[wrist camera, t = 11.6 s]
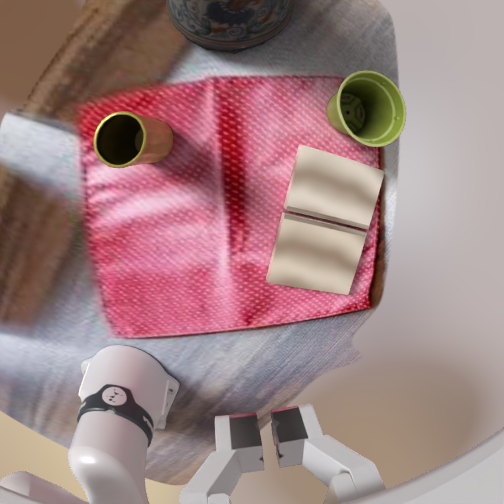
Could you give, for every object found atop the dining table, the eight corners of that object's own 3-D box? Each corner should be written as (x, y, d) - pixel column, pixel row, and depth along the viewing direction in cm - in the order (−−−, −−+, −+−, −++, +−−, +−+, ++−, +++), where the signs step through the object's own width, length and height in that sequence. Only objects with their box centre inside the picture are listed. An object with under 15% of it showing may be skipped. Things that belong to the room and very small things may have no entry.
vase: (176, 120, 37) (156, 107, 23) (170, 165, 39) (147, 175, 25) (132, 117, 36) (93, 106, 23) (127, 161, 38) (86, 171, 24)
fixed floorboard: (363, 226, 45) (368, 229, 43) (283, 207, 42) (286, 210, 41) (379, 170, 42) (384, 171, 40) (299, 144, 40) (302, 144, 38)
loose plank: (344, 290, 47) (348, 295, 46) (266, 278, 45) (268, 283, 43) (362, 230, 45) (367, 233, 43) (282, 211, 43) (285, 213, 41)
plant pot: (318, 147, 40) (342, 148, 32) (310, 82, 37) (332, 68, 29) (376, 143, 41) (409, 146, 33) (369, 82, 37) (400, 73, 29)
